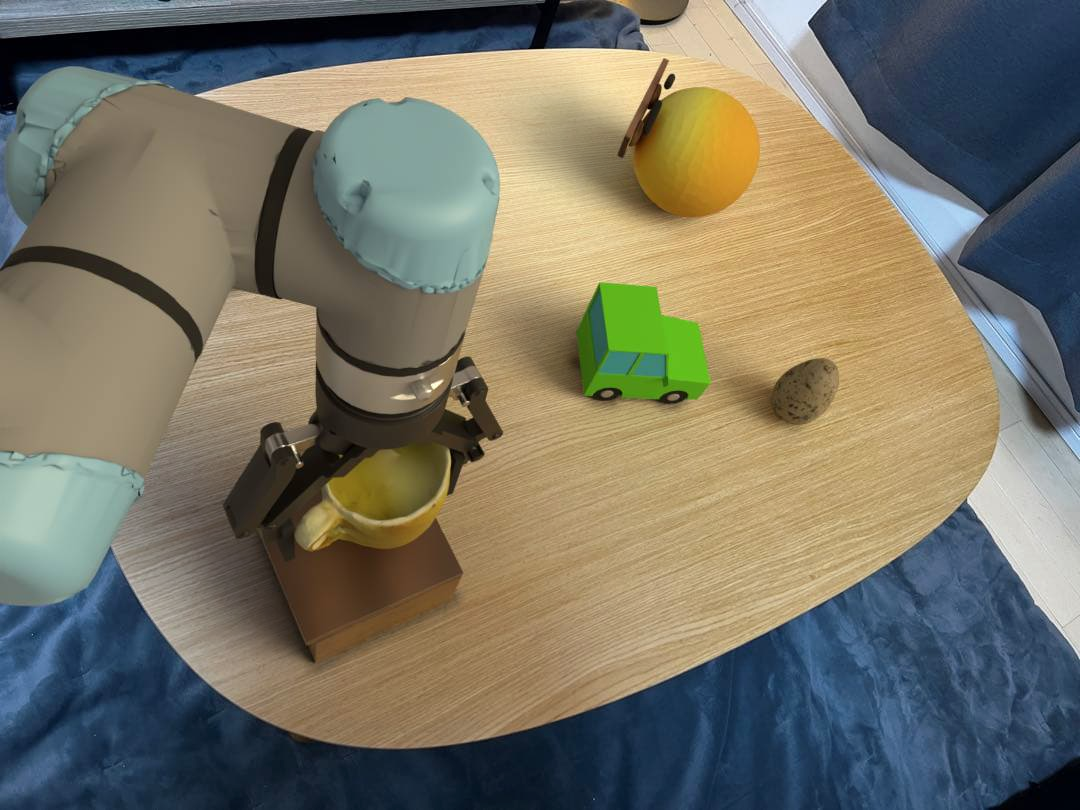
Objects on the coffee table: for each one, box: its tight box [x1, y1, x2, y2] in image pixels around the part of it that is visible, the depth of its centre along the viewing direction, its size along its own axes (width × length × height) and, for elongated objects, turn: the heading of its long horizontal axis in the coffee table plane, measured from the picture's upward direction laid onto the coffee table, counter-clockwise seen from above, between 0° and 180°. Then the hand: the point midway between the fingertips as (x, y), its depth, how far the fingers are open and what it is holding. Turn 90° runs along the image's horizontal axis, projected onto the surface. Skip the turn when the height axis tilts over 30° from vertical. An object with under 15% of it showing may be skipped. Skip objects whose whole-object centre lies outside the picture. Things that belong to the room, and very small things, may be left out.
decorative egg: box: [770, 357, 840, 426], centre depth 91 cm, size 6×6×10 cm
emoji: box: [616, 57, 761, 218], centre depth 102 cm, size 16×16×15 cm
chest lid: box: [256, 489, 464, 646], centre depth 69 cm, size 13×13×1 cm
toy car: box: [575, 281, 711, 405], centre depth 89 cm, size 10×13×10 cm
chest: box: [307, 577, 462, 664], centre depth 73 cm, size 13×13×7 cm
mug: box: [294, 442, 451, 552], centre depth 62 cm, size 12×10×10 cm
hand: (365, 511), depth 64 cm, fingers closed on mug, 12 cm apart
